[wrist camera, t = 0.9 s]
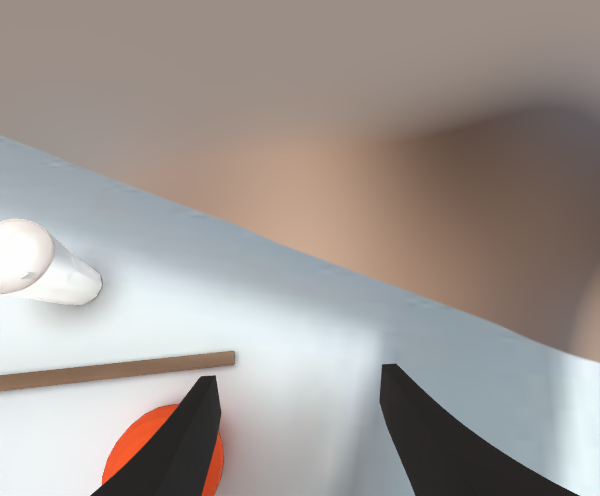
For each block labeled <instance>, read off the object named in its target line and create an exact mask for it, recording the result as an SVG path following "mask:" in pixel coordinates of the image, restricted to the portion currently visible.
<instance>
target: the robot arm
mask: <svg viewBox="0 0 600 496" xmlns="http://www.w3.org/2000/svg"><path fill="white" fill-rule="evenodd" d="M380 405H381V408H382V412H383V415H384V418H385V422H386V425H387V428H388V430H389V433H390V435H391V437H392V440H393V442H394V445H395V447H396V449H397V452H398V454H399V457H400V459H401V461H402V464H403V466H404V468H405V471H406V473H407V476H408V478H409V480H410V483H411V485H412V488H413V490H414V493H415V496H579V495H577V494H575V493H573V492H571V491H569V490H567V489H565V488H563V487H561V486H559V485H557V484H555V483H554V482H552V481H550V480H548V479H546V478H545V477H543V476H541V475H539V474H538V473H536V472H534V471H532V470H530V469H529V468H527V467H525V466H524V465H522V464H520V463H519V462H517V461H515V460H514V459H512V458H511V457H509V456H508V455H506V454H504V453H503V452H501V451H500V450H498V449H497V448H495V447H494V446H492V445H491V444H489V443H488V442H486V441H485V440H483V439H482V438H481V437H479V436H478V435H477V434H475V433H474V432H472V431H471V430H470V429H468V428H467V427H466V426H464V425H463V424H462V423H461V422H459V421H458V420H457V419H456V418H454V417H453V416H452V415H451V414H449V413H448V412H447V411H446V410H445V409H443V408H442V407H441V406H440V405H439V404H438V403H437V402H436V401H434V400H433V399H432V398H431V397H430V396H429V395H428V394H427V393H426V392H425V391H424V390H423V389H421V388H420V387H419V386H418V385H417V384H416V383H415V382H414V381H413V380H412V379H411V378H410V377H409V376H408V375H407V374H406V373H405V372H404V371H403V370H402V369H401V368H400V367H399V366H398V365H397V364H383V365H382V374H381V389H380ZM220 417H221V408H220V402H219V395H218V388H217V382H216V375H215V376H201V377H200V378H199V379H198V381H197V382H196V383H195V385H194V386H193V387H192V389H191V390H190V391H189V393H188V394H187V395H186V396H185V398H184V399H183V400H182V402H181V403H180V404H179V405H178V407H177V408H176V409H175V410H174V412H173V413H172V414H171V415H170V417H169V418H168V419H167V420H166V421H165V423H164V424H163V425H162V426H161V427H160V428H159V429H158V430H157V432H156V433H155V434H154V435H153V436H152V437H151V438H150V439H149V441H148V442H147V443H146V444H145V445H144V446H143V447H142V448H141V449H140V450H139V451H138V452H137V453H136V454H135V455H134V456H133V457H132V458H131V459H130V460H129V461H128V462H127V463H126V464H125V465H124V466H123V467H122V468H121V469H120V470H119V471H118V472H117V473H115V474H114V475H113V476H112V477H111V478H110V479H109V480H108V481H107V482H105V483H104V484H103V485H102V486H101V487H100V488H99V489H98V490H96V491H95V492H94V493H93V494H92V495H91V496H202V492H203V488H204V485H205V481H206V478H207V474H208V470H209V467H210V463H211V459H212V456H213V452H214V448H215V444H216V441H217V436H218V430H219V424H220Z"/></svg>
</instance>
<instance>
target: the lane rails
mask: <svg viewBox="0 0 600 496" xmlns="http://www.w3.org/2000/svg"><path fill="white" fill-rule="evenodd" d="M234 364H235V354H234V351H228V352H218V353H209V354H199V355H190V356H180V357H171V358H161V359H151V360H142V361H132V362H123V363H113V364H104V365H94V366H85V367H75V368H66V369H56V370H47V371H37V372H28V373H18V374H9V375H0V391H6V390H15V389H24V388H33V387H42V386H50V385H59V384H68V383H77V382H85V381H94V380H103V379H112V378H121V377H129V376H138V375H147V374H156V373H165V372H173V371H182V370H191V369H200V368H208V367H217V366H226V365H234Z"/></svg>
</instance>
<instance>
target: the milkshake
mask: <svg viewBox="0 0 600 496" xmlns="http://www.w3.org/2000/svg"><path fill="white" fill-rule="evenodd" d="M101 287H102V282H101V276H100V274H99V273H97V272H96V271H95V270H94V269H92V268H91V267H90V266H88V265H87V264H86V263H84V262H83V261H82V260H80V259H79V258H78V257H77V256H75V255H74V254H73V253H72V252H71V251H69V250H68V249H67V248H66V247H65V246H64V245H63V244H62V243H61V242H59V241H58V240H57V239H56V238H55V237H54V236H52V235H51V234H50V233H49V232H48V231H47V230H45V229H44V228H43V227H41V226H40V225H38V224H36V223H34V222H32V221H29V220H25V219H8V220H3V221H0V295H3V296H12V297H20V298H28V299H34V300H40V301H46V302H52V303H59V304H65V305H84V304H86V303H87V302H89V301H91V300H92V299H94V298H96V297H97V295H98V293H99V291H100V289H101Z"/></svg>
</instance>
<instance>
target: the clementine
mask: <svg viewBox="0 0 600 496" xmlns="http://www.w3.org/2000/svg"><path fill="white" fill-rule="evenodd" d="M178 405H179V404H173V405H168V406H163V407H159V408H157V409H154V410H152V411H150V412H148V413H146V414H144V415H143V416H142V417H141V418H139V419H138V420H137V421H135V422H134V423H133V424H132V425H131V426H130V427H129V428H128V429H127V430H126V432H125V433H124V434H123V435H122V436H121V438H120V439H119V440H118V441H117V442H116V444H115V446H114V448H113V450H112V452H111V453H110V455H109V457H108V459H107V463H106V466H105V469H104V473H103V476H102V485H103V484H104V483H105V482H107V481H108V480H109V479H110V478H111V477H112V476H113V475H114V474H115V473H117V472H118V471H119V470H120V469H121V468H122V467H123V466H124V465H125V464H126V463H127V462H128V461H129V460H130V459H131V458H132V457H133V456H134V455H135V454H136V453H137V452H138V451H139V450H140V449H141V448H142V447H143V446H144V445H145V444H146V443H147V442H148V441H149V439H150V438H151V437H152V436H153V435H154V434H155V433H156V432H157V430H158V429H159V428H160V427H161V426H162V425H163V424H164V423H165V421H166V420H167V419H168V418H169V417H170V415H171V414H172V413H173V412H174V410H175V409H176V408H177V407H178ZM223 462H224V459H223V444H222V441H221V437H220V434H219V431H218V436H217V441H216V444H215V448H214V452H213V456H212V459H211V463H210V467H209V470H208V474H207V478H206V481H205V485H204V488H203V492H202V496H214V494H215V492H216V489H217V487H218V484H219V482H220V479H221V474H222V468H223Z"/></svg>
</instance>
